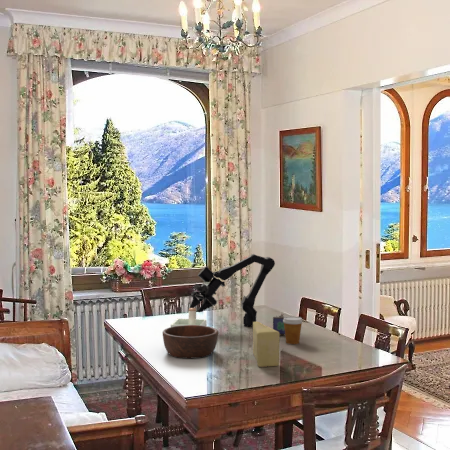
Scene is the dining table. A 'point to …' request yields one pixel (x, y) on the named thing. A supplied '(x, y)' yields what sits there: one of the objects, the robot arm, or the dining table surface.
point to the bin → (186, 322)
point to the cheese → (265, 345)
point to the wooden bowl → (190, 341)
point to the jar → (192, 316)
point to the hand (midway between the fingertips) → (194, 310)
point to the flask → (279, 324)
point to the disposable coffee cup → (292, 329)
